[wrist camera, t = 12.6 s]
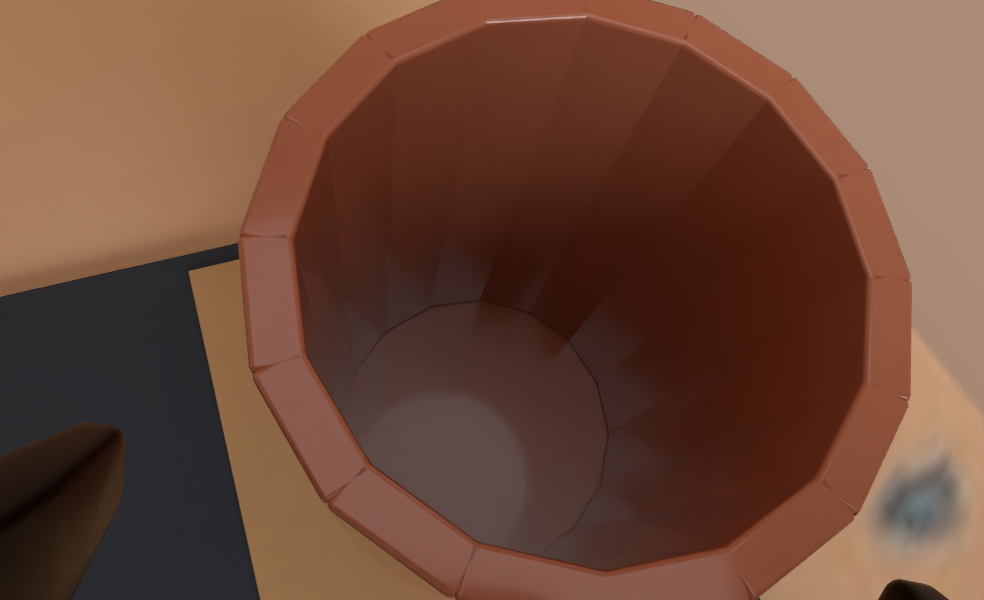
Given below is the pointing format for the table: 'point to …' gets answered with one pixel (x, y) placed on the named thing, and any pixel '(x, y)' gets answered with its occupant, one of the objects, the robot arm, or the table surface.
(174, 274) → the desk mat
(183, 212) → the table surface
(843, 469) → the cup
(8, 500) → the robot arm
